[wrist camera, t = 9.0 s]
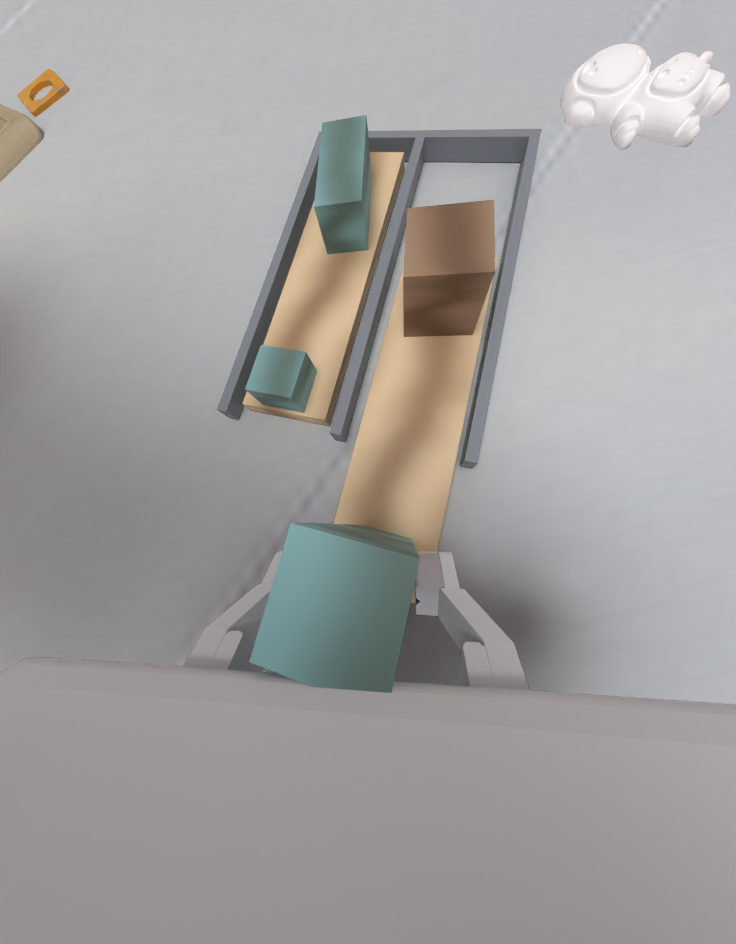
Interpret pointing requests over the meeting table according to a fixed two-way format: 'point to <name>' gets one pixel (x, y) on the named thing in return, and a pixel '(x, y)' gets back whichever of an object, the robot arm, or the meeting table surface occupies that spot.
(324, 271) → the broken strip
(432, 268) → the walnut cube
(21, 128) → the shape sorter
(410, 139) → the lane rails
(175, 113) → the meeting table surface
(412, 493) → the oak strip
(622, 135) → the astronaut figurine
